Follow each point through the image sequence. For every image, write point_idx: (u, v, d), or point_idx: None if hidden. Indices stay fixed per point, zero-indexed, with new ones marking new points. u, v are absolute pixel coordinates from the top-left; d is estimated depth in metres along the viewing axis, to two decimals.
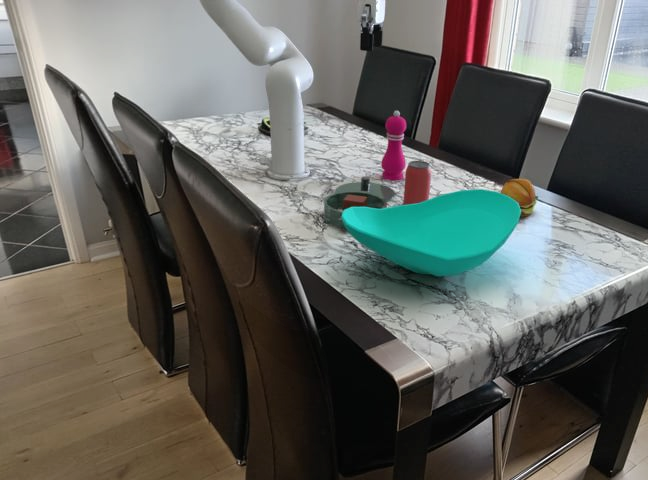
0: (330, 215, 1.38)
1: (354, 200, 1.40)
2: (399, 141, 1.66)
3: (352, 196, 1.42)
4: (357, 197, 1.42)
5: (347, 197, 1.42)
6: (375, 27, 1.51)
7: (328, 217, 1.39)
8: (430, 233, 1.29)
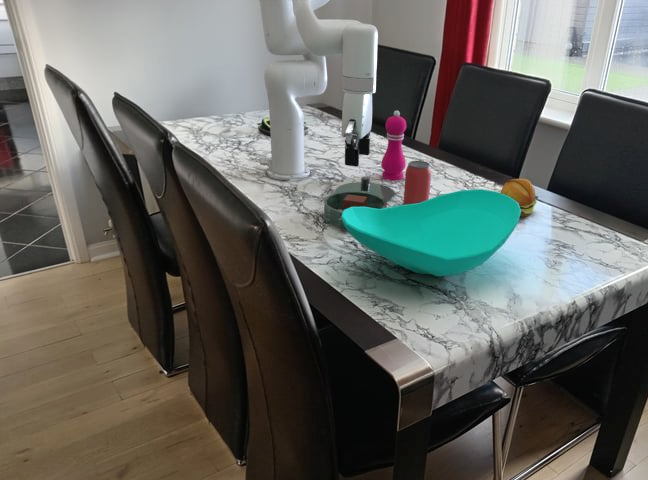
0: (330, 215, 1.38)
1: (354, 200, 1.40)
2: (399, 141, 1.66)
3: (352, 196, 1.42)
4: (357, 197, 1.42)
5: (347, 197, 1.42)
6: None
7: (328, 217, 1.39)
8: (430, 233, 1.29)
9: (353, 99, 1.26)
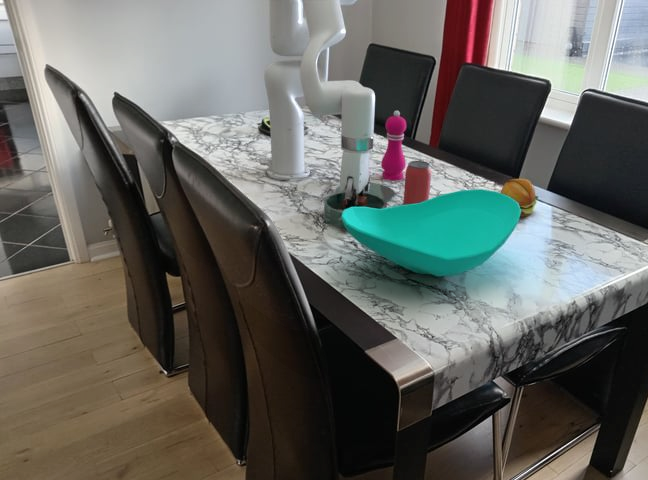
0: (330, 215, 1.38)
1: None
2: (399, 141, 1.66)
3: None
4: None
5: None
6: None
7: (328, 217, 1.39)
8: (430, 233, 1.29)
9: (351, 158, 1.32)
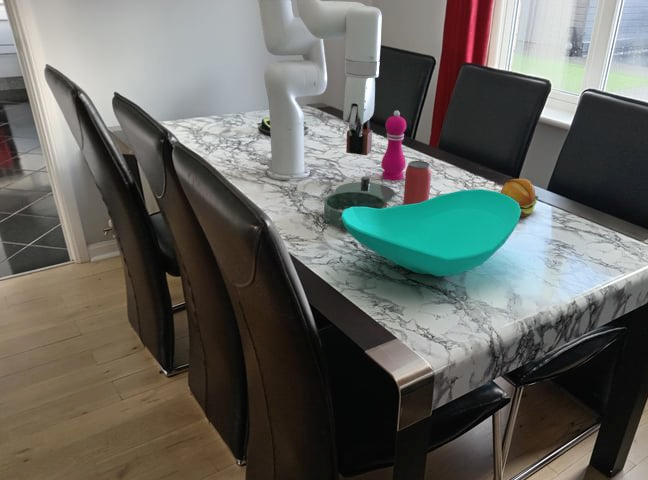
0: (330, 215, 1.38)
1: None
2: (399, 141, 1.66)
3: None
4: None
5: None
6: None
7: (328, 217, 1.39)
8: (430, 233, 1.29)
9: (355, 83, 1.24)
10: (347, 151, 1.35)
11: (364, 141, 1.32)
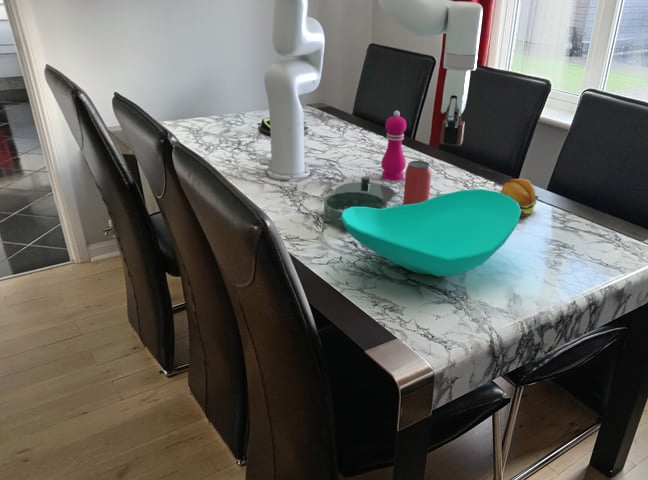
0: (330, 215, 1.38)
1: None
2: (399, 141, 1.66)
3: None
4: None
5: (445, 121, 1.39)
6: (453, 118, 1.41)
7: (328, 217, 1.39)
8: (430, 233, 1.29)
9: (456, 76, 1.29)
10: (441, 142, 1.40)
11: (459, 132, 1.38)
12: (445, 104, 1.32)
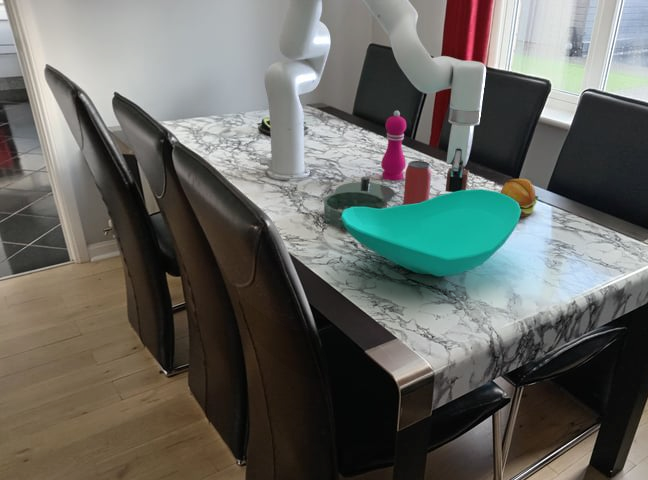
0: (330, 215, 1.38)
1: None
2: (399, 141, 1.66)
3: None
4: None
5: (450, 170, 1.46)
6: None
7: (328, 217, 1.39)
8: (430, 233, 1.29)
9: (461, 130, 1.36)
10: (446, 190, 1.46)
11: (464, 181, 1.44)
12: (450, 156, 1.39)
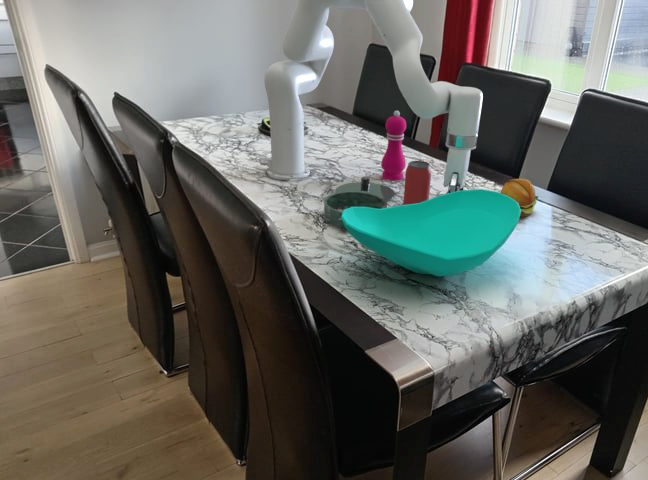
0: (330, 215, 1.38)
1: None
2: (399, 141, 1.66)
3: None
4: None
5: None
6: None
7: (328, 217, 1.39)
8: (430, 233, 1.29)
9: (457, 155, 1.39)
10: None
11: None
12: (447, 179, 1.42)
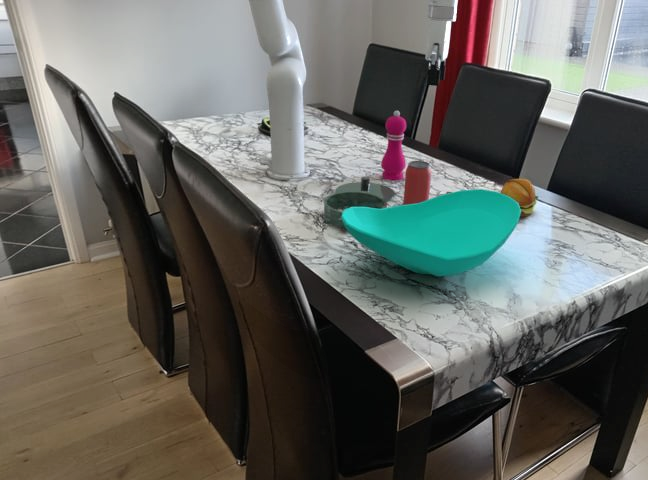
0: (330, 215, 1.38)
1: None
2: (399, 141, 1.66)
3: None
4: None
5: None
6: None
7: (328, 217, 1.39)
8: (430, 233, 1.29)
9: (438, 25, 1.48)
10: None
11: None
12: (429, 51, 1.51)
